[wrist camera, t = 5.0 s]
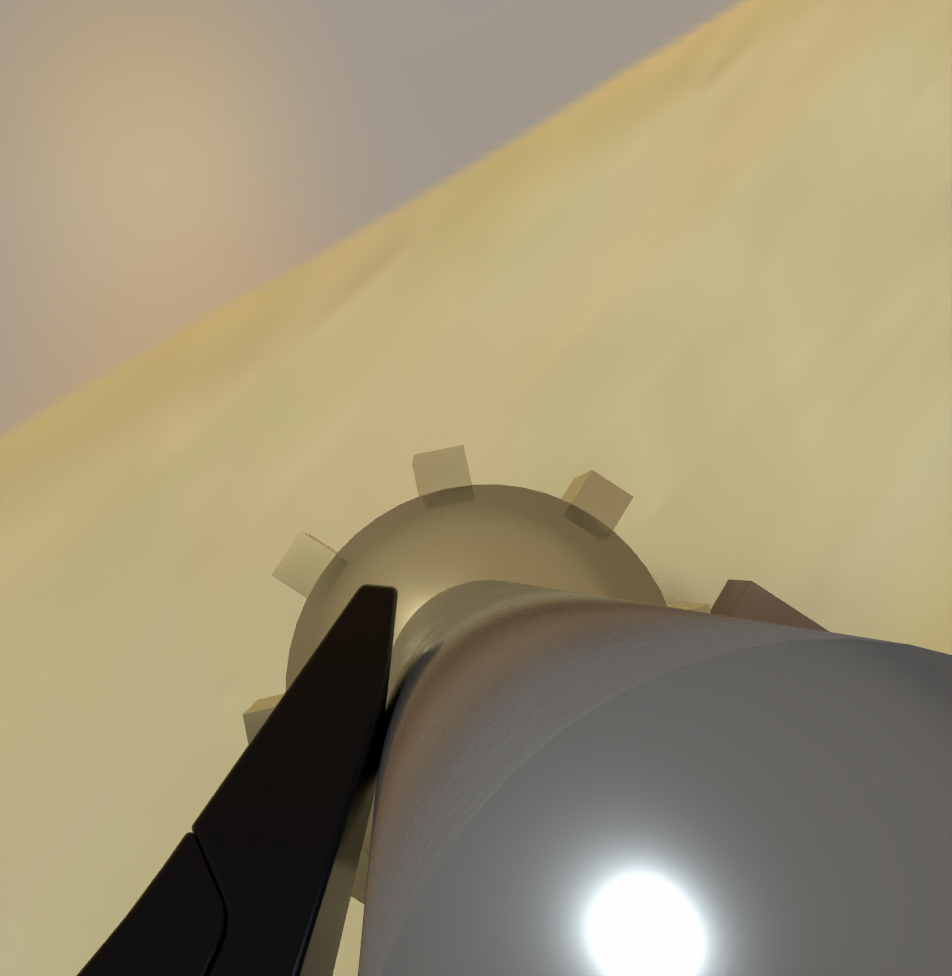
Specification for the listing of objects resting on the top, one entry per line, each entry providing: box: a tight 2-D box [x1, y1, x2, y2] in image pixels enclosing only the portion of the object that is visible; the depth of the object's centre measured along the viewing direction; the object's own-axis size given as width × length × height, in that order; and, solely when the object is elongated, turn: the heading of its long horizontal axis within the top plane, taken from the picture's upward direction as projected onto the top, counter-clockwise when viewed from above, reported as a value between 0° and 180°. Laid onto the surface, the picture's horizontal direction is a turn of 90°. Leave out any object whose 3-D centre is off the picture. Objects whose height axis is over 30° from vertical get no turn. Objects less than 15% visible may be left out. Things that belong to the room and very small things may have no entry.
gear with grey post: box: [243, 445, 952, 976], centre depth 9 cm, size 8×8×13 cm
